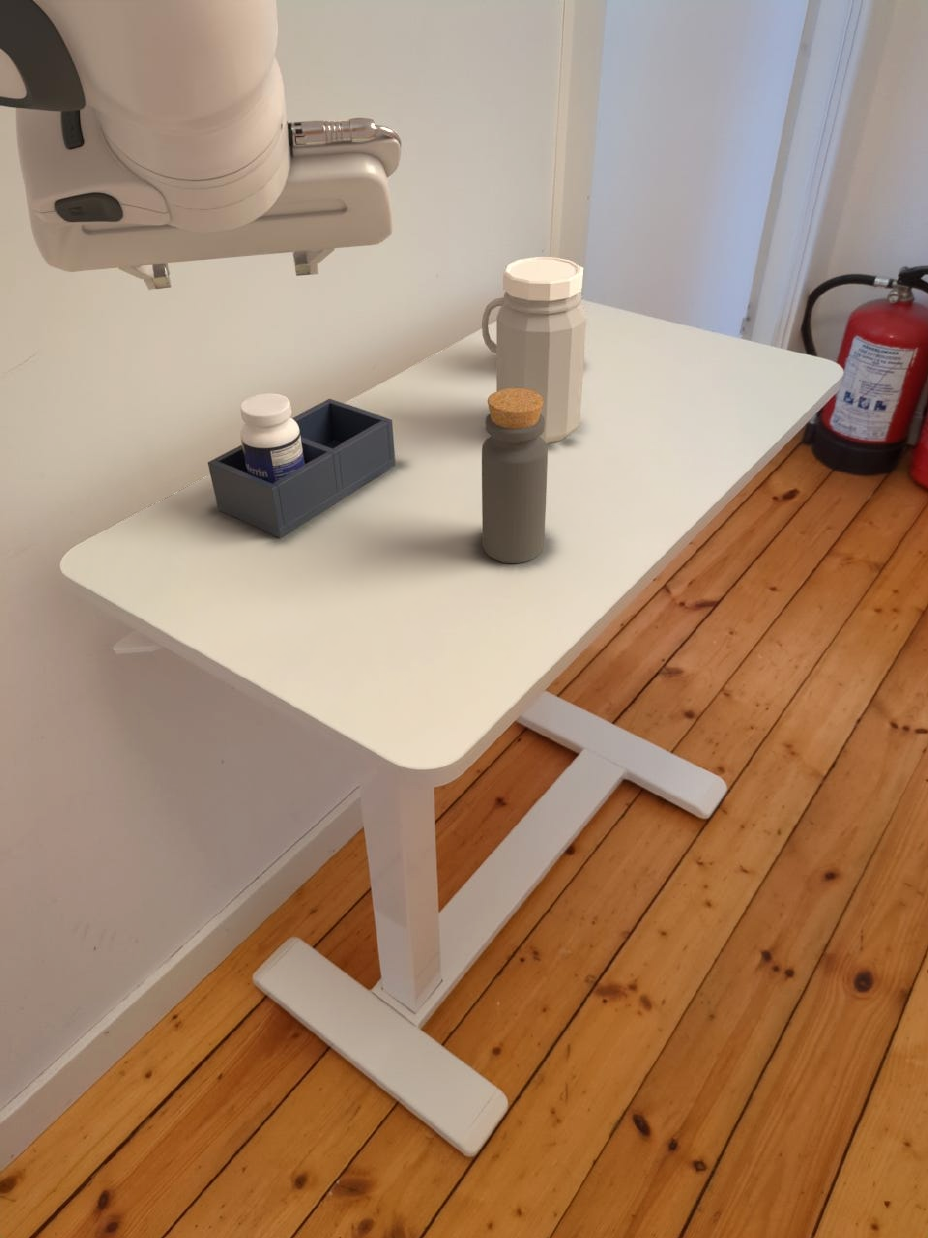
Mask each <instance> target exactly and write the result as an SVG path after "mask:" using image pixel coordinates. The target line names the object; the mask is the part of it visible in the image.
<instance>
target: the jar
mask: <svg viewBox="0 0 928 1238" xmlns="http://www.w3.org/2000/svg"><path fill="white" fill-rule="evenodd" d="M583 274H584V267H582V266H581V265H579V264H578V263H576V262H574V261H572V260H569V259H565V258H560V257H553V256H552V257H551V256H534V257H528V258H520V259H517V260H515V261H513V262H511V263H509V264H506V265H504V268H503V272H502V290H503V291H504V293H503V296H502V298H503V302H504V304H503V305H502V306H500V308H499V309H498V312H497V314H496V320H495V322H496V325H495V327H496V329H495V331H496V336H495V337H496V338H495V339H496V340H495V341H496V342H495V344H496V354H495V356H496V361H495V362H496V363H495V364H496V365H495V367H496V368H495V369H496V371H495V372H496V374H495V375H496V387H495V388H496V391H495V392H497V391H499V390H503V389H509V388H523V389H528V390H532V391H535V392H537V393H538V394H540V395H541V396H542V398H543V405H542V409H541V414H542V415H543V416H544V419H545V429H544V432H543V433H542V434H541V435H540V437H541V438H542V439H543V440H544V441H545V442H546V443H547V444H549V443H554V442H559V441H562V440H564V439H566V438H567V437H568V436H570V435H571V434H573V432H575V430H576V429H577V428H578V427H579V426H580V422H581V421H580V420H581V409H582V394H583V393H582V392H583V376H584V361H585V360H584V359H585V347H586V345H585V344H586V330H587V329H586V328H587V317H588V316H587V315H588V313H587V310H586V309H585V308H584V306H583V304H582V297H583V296H582V295H583V294H582V293H581V292H582V286H583ZM579 292H580V293H579Z"/></svg>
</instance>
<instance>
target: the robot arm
mask: <svg viewBox="0 0 928 1238" xmlns="http://www.w3.org/2000/svg"><path fill="white" fill-rule="evenodd" d="M277 5H278V4H277V0H0V107H5V108H6V107H7V108H14V109H15V131H16V132H15V133H16V145H17V153H18V158H19V159H18V160H19V165H20V170H21V175H22V179H23V183H24V189H25V195H26V202H27V209H28V216H29V222H30V229H31V233H32V236H33V239H34V241H35V242H34V243H35V245H36V247H37V249H38V251H39V253H40V256H41V257H42V258H43V260H44V261H45V263H46V264H47V265H48V266H50V267H53V268H56V269H58V270H61V271H64V272H68V273H75V272H84V271H85V272H86V271H94V270H95V271H96V270H106V269H117V268H118V270H120V271H122V272H124V273H127V274H129V275H130V276H134V277H136V278H137V279H140V280H143V281H144V284H145V286H146V288H147V290H148V291H150V290H151V291H152V290H161V289H169V288H172V280H171V277H170V275H171V273H170V266H169V264H174V263H184V262H185V263H186V262H196V261H197V262H199V261H208V260H219V259H230V258H241V257H252V256H254V257H255V256H263V255H275V254H285V253H292V258H293V259H292V260H293V264H294V265H293V266H294V272H295V276H296V277H298V276H310V275H311V276H312V275H313V276H314V275H318V274H319V265H318V264H320V263H321V262H322V261H323V260H325V259H326V258H327V257H328V256H330V254H331V253H333V252H334V251H335V249H342V248H343V249H344V248H353V247H355V248H356V247H365V246H366V247H367V246H375V245H378V244H380V243H382V242H384V241H385V240H386V239H387V238H389V237H390V236H392V234H393V231H394V214H393V213H394V211H393V204H392V197H391V191H390V185H389V177H391V176H392V175H394V173H395V172H396V171H397V170H398V168H399V165H400V161H401V156H402V140H401V137H400V136H399V134H398V132H397V130H396V129H392V128H390V127H387V126H384V125H378V124H375V120H374V119H373V118H369V117H352V118H335V119H323V120H306V121H304V120H303V121H290V122H289V121H288V116H287V115H288V114H287V103H286V92H285V84H284V79H283V74H282V71H281V67H280V65H279V62H278V59H277V56H276V51H277V47H278V37H279V18H278V6H277Z"/></svg>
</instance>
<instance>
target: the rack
mask: <svg viewBox="0 0 928 1238" xmlns="http://www.w3.org/2000/svg"><path fill="white" fill-rule="evenodd" d="M291 418H292V419H293V420H294V421H295V422H296V423H297V425H298V427H299V431H300V437H301V444H302V450H303V457H304V463H305V465H304V466H302V467H300V468H298V469H297V470H295V471H293V472H291V473H290V474H288V475H286V476H284V477H283V478H281V479H279V480H277V481H276V482H274V483H273V484H272V483H269V482H267V481H264V480H262V479H260V478H257V477H255V476H252V475H250V474H248V473H247V468H246V463H245V458H244V453H243V448H242V444H240V445H238V446H236V447H234V448H232V449H231V450H229V451H227V452H225V453H223V454H221V455H219V456H217V457H215V458H214V459H211V460H210V461H207V467H208V472H209V475H210V480H211V484H212V489H213V493H214V498H215V502H216V507H217V510H218V511H219V512H222V513H224V514H226V515H229V516H231V517H233V518H235V519H238V520H239V521H242V522H244V523H247V524H248V525H251V526H253V527H255V528H257V529H259V530H262V531H264V532H266V533H268V534H270V535H273V536H275V537H277V538H279V539H282V538H283V537H285V536H286V535H288V534H289V533H291V532H293V531H294V530H296V529H298V528H299V527H301V526H302V525H304V524H305V523H307V522H308V521H310V520H312V519H313V518H315V517H317V516H318V515H320V514H321V513H323V512H324V511H326V510H328V509H329V508H330V507H333V506H334V505H336V504H337V503H339V502H340V501H342V500H343V499H345V498H347V497H348V496H350V495H351V494H353V493H355V492H356V491H358V490H360V489H361V488H362V487H364V486H366V485H367V484H369V483H370V482H372V481H374V480H375V479H377V478H378V477H380V476H381V475H383V474H385V473H386V472H388V471H389V470H391V469H393V468H394V467H396V465H397V464H396V453H395V452H396V451H395V440H394V439H395V438H394V427H393V425H394V424H393V419H392V418H389V417H386V416H383V415H379V414H377V413H374V412H371V411H368V410H365V409H362V408H359V407H356V406H353V405H350V404H347V403H345V402H341V401H338V400H335V399H332V398H327V399H326V400H324V401H322V402H319V403H318V404H316V405H314V406H312V407H310V408H309V409H306V410H305V411H303V412H301V413H299V414H297V415H295V416H293V417H291Z"/></svg>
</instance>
